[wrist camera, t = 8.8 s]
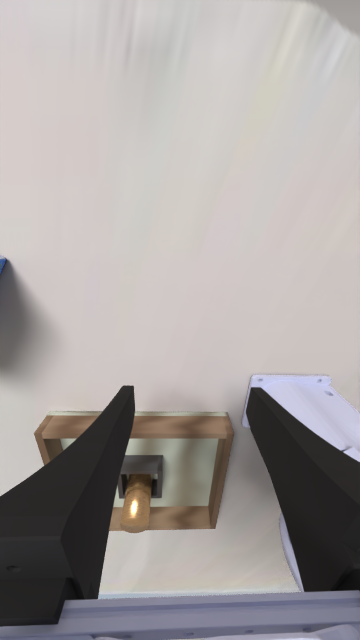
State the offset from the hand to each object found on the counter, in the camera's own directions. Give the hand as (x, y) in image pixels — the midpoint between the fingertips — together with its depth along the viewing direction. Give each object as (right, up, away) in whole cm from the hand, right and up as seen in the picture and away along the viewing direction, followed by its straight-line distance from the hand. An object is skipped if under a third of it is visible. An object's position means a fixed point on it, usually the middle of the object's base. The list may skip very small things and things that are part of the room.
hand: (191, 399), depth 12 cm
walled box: (-6, -16, +16) cm, 24 cm away
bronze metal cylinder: (-6, -16, +16) cm, 23 cm away
